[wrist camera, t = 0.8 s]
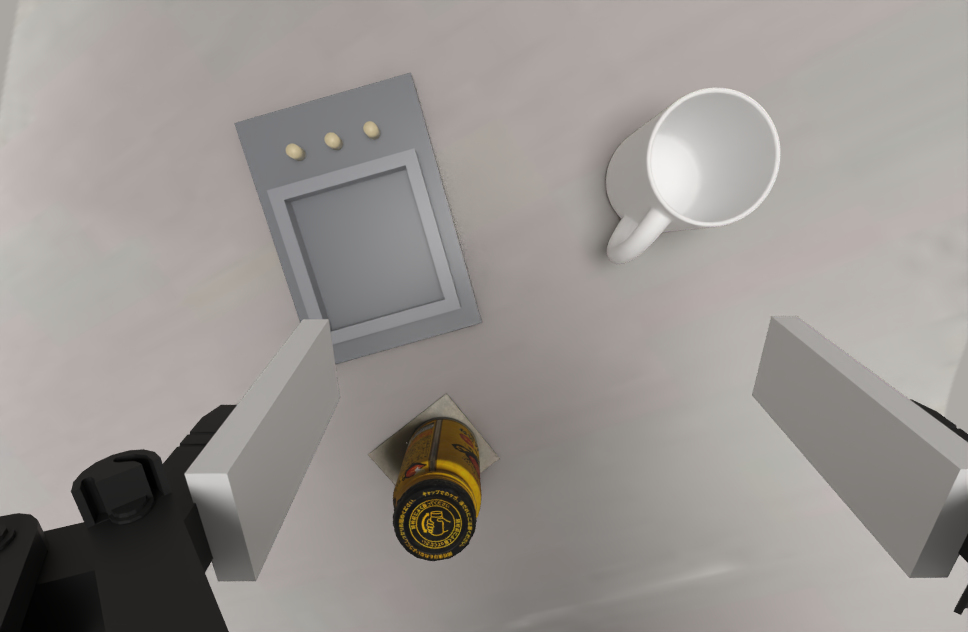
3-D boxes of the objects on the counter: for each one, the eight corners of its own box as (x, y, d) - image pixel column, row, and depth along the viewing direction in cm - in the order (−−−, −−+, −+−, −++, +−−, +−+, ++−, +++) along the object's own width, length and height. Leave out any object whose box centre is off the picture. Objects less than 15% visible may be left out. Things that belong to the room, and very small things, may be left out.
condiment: (499, 457, 44) (511, 533, 32) (422, 516, 44) (405, 612, 33) (446, 392, 43) (437, 445, 31) (368, 453, 44) (330, 528, 32)
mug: (633, 290, 43) (685, 301, 32) (554, 229, 42) (582, 222, 32) (725, 170, 42) (808, 143, 31) (646, 106, 41) (705, 57, 31)
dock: (481, 321, 42) (482, 325, 40) (318, 367, 43) (310, 374, 40) (411, 76, 40) (408, 65, 38) (239, 125, 40) (225, 117, 38)
